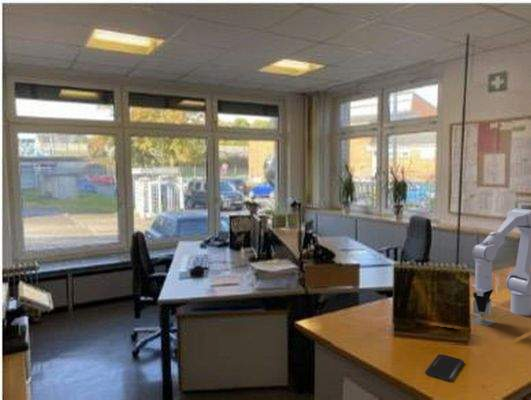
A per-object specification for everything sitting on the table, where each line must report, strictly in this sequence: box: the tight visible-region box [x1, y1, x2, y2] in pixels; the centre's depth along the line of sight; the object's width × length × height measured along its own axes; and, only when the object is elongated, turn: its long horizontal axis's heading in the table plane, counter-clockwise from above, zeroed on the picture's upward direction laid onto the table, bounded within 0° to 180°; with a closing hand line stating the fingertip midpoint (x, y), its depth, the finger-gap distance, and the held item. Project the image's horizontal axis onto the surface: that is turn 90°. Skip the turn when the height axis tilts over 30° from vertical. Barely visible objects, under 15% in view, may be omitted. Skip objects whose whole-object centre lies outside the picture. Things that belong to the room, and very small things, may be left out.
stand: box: [470, 311, 492, 318], centre depth 169 cm, size 6×6×3 cm
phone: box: [424, 353, 465, 383], centre depth 128 cm, size 8×1×15 cm
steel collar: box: [472, 298, 492, 317], centre depth 161 cm, size 5×5×5 cm
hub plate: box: [470, 314, 496, 327], centre depth 161 cm, size 7×7×4 cm
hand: (482, 309), depth 161 cm, fingers closed on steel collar, 5 cm apart
